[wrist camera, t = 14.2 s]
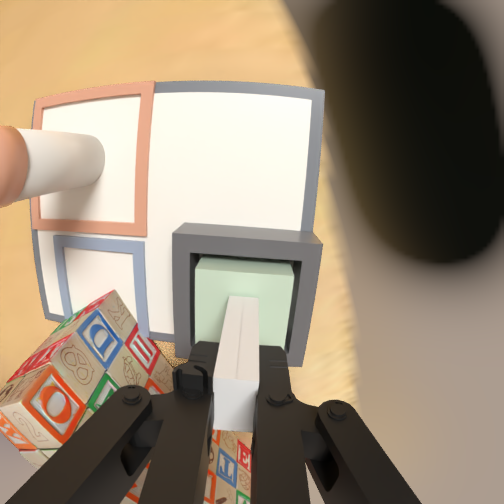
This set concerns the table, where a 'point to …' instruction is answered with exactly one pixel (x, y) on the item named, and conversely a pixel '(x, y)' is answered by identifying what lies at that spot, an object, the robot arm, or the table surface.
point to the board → (169, 184)
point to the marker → (46, 162)
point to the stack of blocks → (102, 393)
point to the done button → (243, 294)
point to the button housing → (247, 245)
